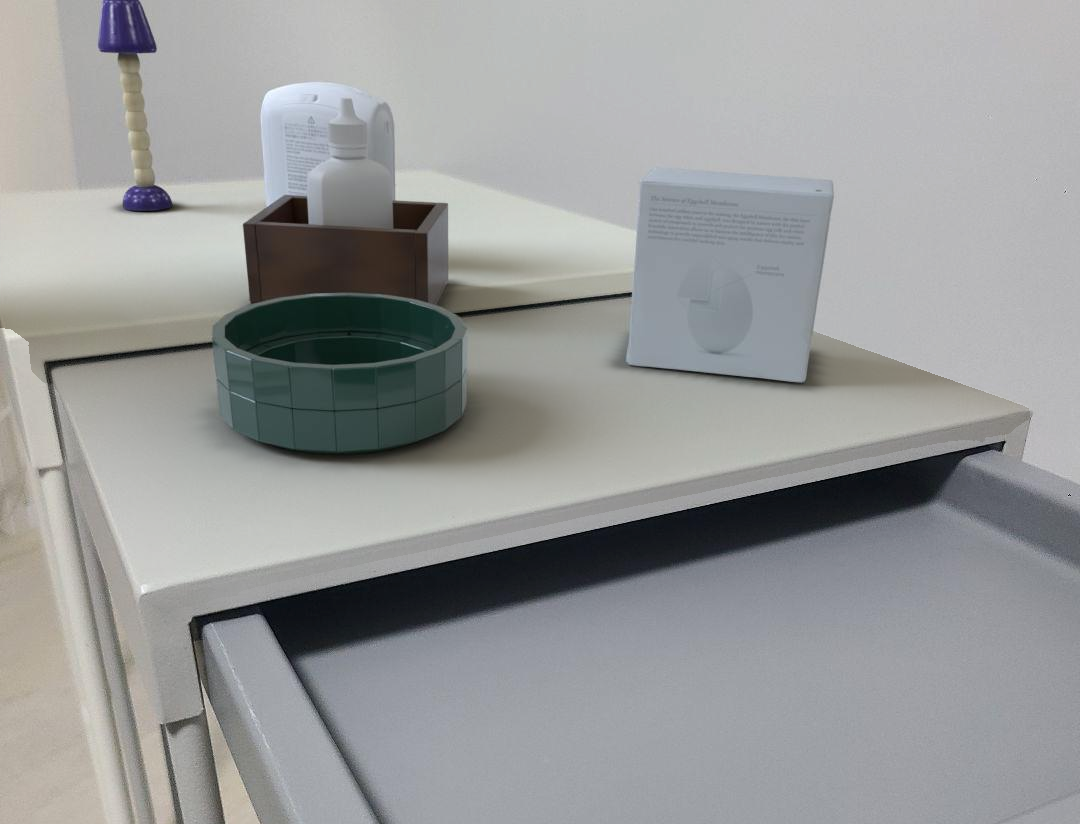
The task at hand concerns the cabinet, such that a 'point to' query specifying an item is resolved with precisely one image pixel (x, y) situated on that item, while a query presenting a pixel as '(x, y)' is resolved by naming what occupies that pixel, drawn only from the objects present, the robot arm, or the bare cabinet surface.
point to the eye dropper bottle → (349, 179)
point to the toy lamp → (133, 94)
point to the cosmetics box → (728, 272)
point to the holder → (347, 253)
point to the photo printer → (316, 133)
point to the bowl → (340, 371)
